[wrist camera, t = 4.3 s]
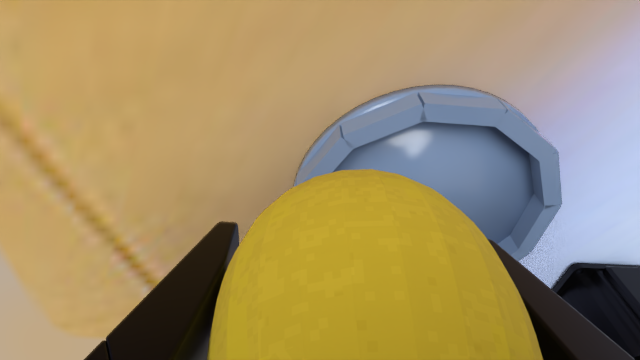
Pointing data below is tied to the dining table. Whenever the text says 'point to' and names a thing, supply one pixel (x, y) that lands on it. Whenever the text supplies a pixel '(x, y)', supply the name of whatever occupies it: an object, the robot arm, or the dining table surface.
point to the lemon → (368, 279)
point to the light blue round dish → (452, 156)
